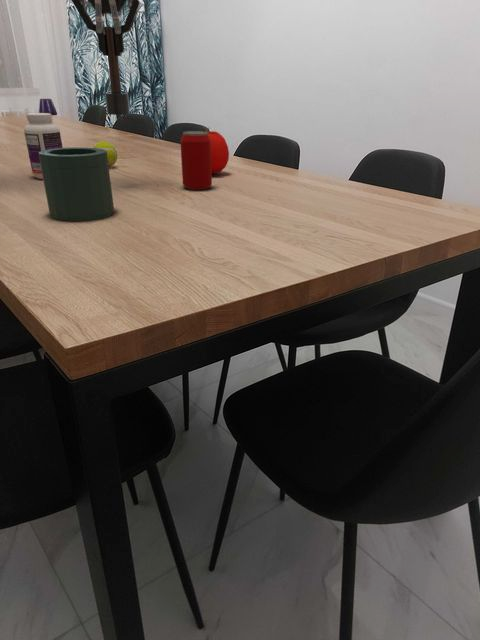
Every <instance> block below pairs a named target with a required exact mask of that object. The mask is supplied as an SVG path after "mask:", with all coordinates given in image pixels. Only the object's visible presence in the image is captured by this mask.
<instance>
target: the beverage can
mask: <svg viewBox="0 0 480 640" xmlns="http://www.w3.org/2000/svg"><path fill="white" fill-rule="evenodd" d="M202 131H203V130H201V131H199V130H189V131H188V130H187V131H183V132H182V135H181V138H180V139H179V141H180V158H181V175H182V177H181V178H182V185H183V186H184V187H185V188H186V189H188V190H191V191H192V190H193V191H202V190H203V191H204V190H207V189H209V188H210V187H211V186H212V184H213V183H212V182H213V179H212V178H213V177H212V176H213V175H212V174H213V173H211V142H210V139H209V137H208V135H207V132H208V131H207V132H202Z"/></svg>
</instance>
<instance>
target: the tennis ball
mask: <svg viewBox="0 0 480 640" xmlns="http://www.w3.org/2000/svg"><path fill="white" fill-rule="evenodd" d="M93 148H99V149H104V150H106V151H107V157H108V165H109V168H110V167H113V166H114V165H115V164H116V162H117V161H118V152H117V149H116V148H115V146H114V145H113V144H112V143H110V142H108V141H99V142H97V143H96V144H94V145H93Z"/></svg>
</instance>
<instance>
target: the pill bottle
mask: <svg viewBox="0 0 480 640" xmlns="http://www.w3.org/2000/svg"><path fill="white" fill-rule="evenodd" d="M26 120H27V121H28V124H26V125H24V128H23V133H24V138H25V142H26V148H27V153H28V157H29V162H30V167H31V172H32V175H33V177H35V178H36V179H40V180H43V175H42V170H41V164H40V159H39V154H38V152H40V151H42V150H48V149H55V148H64V146H63V143H62V136H61V131H60V130H61V129H60V128H59V126H57V124H54V123H53V115H51V114H50V113H39V112H33V113H26ZM51 121H52V122H51Z"/></svg>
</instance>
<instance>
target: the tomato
mask: <svg viewBox="0 0 480 640" xmlns="http://www.w3.org/2000/svg"><path fill="white" fill-rule="evenodd" d="M209 130H210V127H207V129H202V130H201V131H202V132H207V135H208V137H209V139H210V142H211V173H212V174H219V173H220V172H222V171H223V170H224V169H225V168H226V167H227V165H228V163H229V158H230V151H229V146H228V144H227V141H226V139H225V137H224V136H223V135H222V134H221V133H220V132H217V131H214V130H212V131H211V130H210V131H209Z"/></svg>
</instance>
